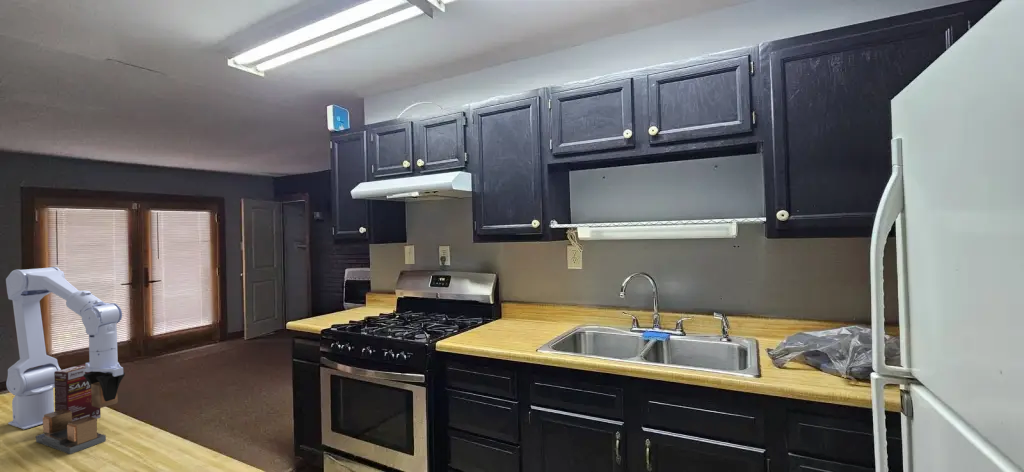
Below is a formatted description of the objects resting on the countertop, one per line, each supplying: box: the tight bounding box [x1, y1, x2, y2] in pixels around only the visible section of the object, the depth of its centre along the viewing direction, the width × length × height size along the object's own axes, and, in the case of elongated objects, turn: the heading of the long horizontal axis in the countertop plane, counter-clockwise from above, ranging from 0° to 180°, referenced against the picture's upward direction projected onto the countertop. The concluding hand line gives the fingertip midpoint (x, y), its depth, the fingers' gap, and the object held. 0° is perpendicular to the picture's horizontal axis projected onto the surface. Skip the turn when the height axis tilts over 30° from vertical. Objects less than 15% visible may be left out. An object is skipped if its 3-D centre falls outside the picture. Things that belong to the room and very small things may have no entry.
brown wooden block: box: [91, 382, 119, 409], centre depth 124 cm, size 4×4×6 cm
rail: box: [35, 409, 107, 455], centre depth 118 cm, size 17×7×6 cm, turn 67°
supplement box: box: [54, 363, 102, 421], centre depth 129 cm, size 9×5×16 cm, turn 168°
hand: (105, 398), depth 124 cm, fingers closed on brown wooden block, 4 cm apart
